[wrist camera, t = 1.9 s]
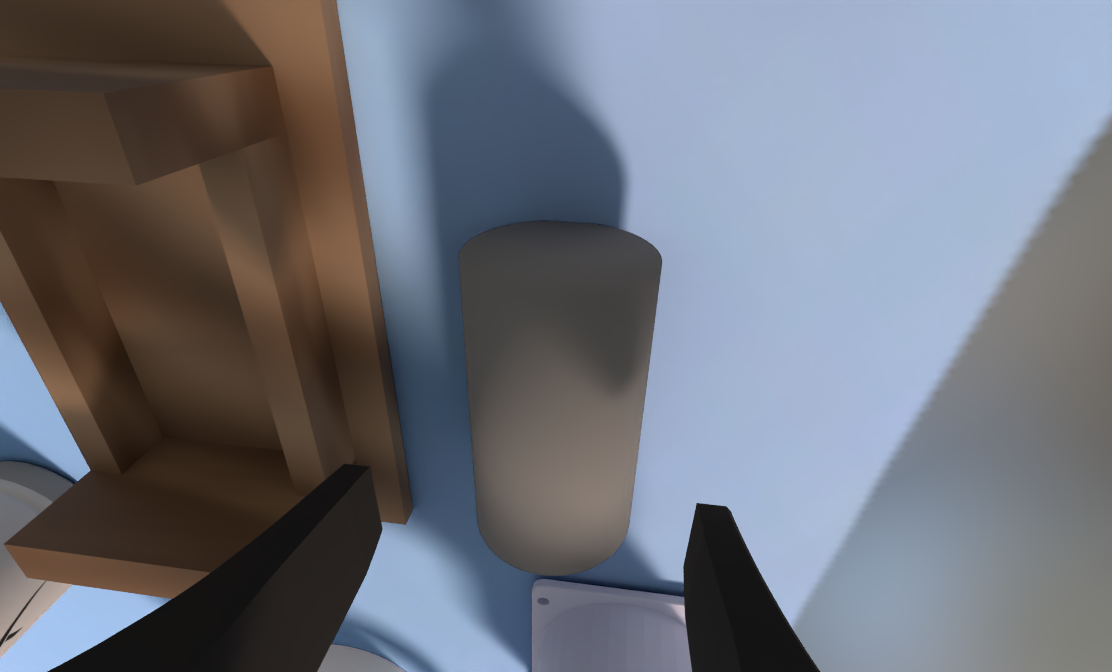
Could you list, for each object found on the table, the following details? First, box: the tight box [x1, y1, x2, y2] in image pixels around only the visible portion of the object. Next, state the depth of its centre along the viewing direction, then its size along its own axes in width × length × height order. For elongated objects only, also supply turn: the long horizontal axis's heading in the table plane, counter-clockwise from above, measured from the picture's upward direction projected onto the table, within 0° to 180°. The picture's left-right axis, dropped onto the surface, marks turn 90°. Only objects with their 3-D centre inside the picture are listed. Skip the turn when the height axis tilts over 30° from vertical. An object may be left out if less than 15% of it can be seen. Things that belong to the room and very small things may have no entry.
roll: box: [459, 221, 662, 576], centre depth 16 cm, size 9×5×5 cm, turn 179°
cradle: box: [0, 0, 413, 599], centre depth 16 cm, size 18×12×6 cm, turn 179°
